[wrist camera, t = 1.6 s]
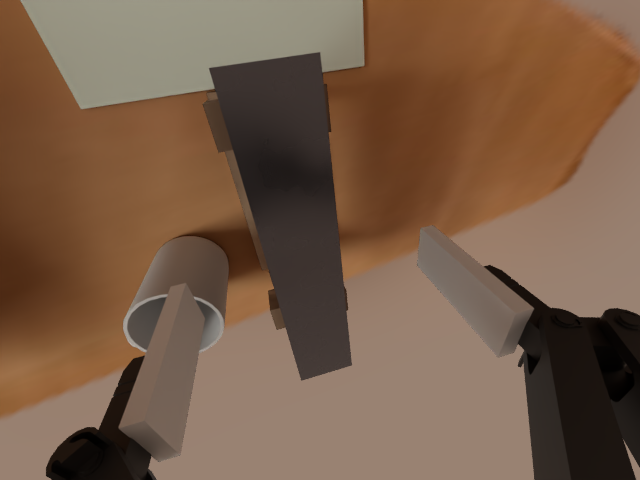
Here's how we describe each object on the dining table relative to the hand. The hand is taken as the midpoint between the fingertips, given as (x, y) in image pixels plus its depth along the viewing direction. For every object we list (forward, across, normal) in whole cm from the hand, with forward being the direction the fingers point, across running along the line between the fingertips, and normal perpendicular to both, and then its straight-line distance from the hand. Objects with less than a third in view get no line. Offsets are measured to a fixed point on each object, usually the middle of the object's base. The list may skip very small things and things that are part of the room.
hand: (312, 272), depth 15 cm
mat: (+14, -2, +13) cm, 19 cm away
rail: (+6, 0, 0) cm, 6 cm away
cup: (+14, -12, -7) cm, 20 cm away
